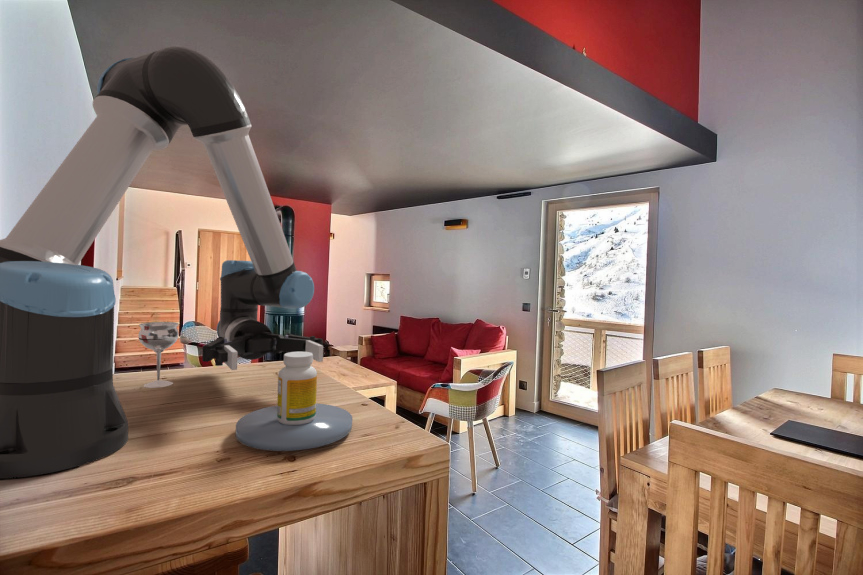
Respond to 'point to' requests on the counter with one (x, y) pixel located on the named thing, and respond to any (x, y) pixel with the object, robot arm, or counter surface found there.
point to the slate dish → (293, 429)
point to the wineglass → (158, 343)
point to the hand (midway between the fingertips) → (280, 357)
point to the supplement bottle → (297, 389)
